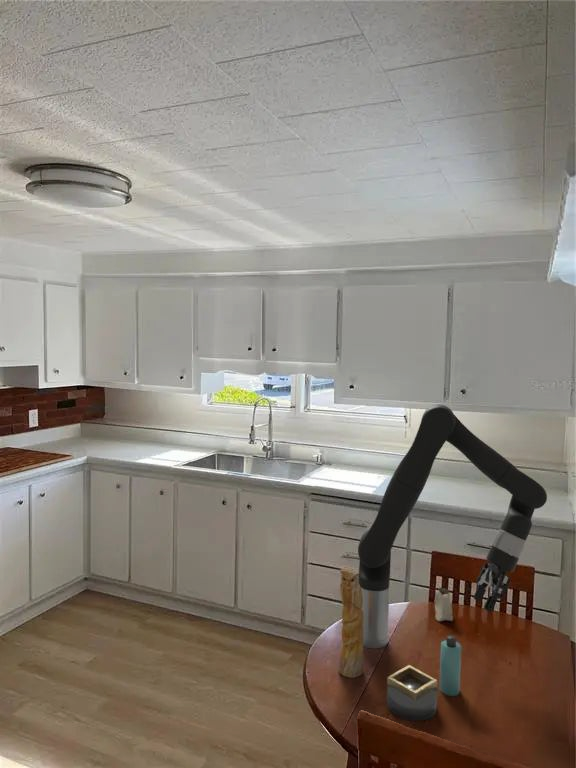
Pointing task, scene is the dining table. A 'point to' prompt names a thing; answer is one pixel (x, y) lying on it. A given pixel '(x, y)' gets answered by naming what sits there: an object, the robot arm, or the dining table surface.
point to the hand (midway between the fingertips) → (481, 605)
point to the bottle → (450, 666)
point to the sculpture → (351, 625)
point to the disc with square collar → (412, 694)
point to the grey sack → (443, 605)
